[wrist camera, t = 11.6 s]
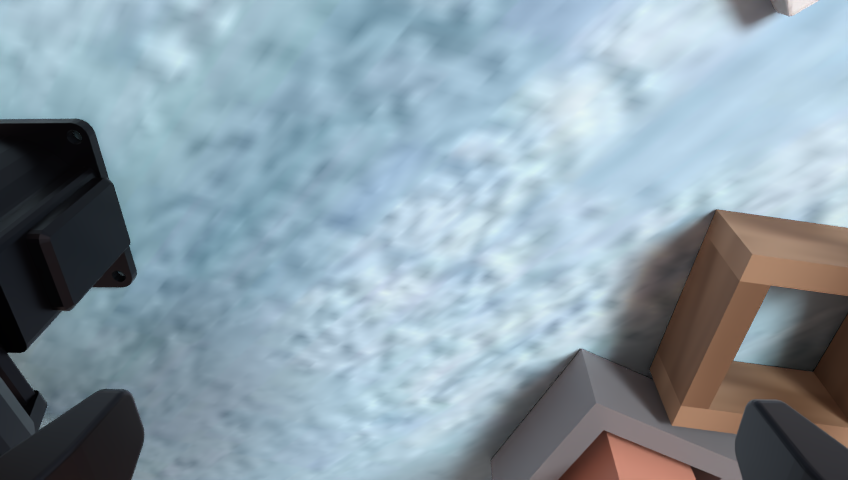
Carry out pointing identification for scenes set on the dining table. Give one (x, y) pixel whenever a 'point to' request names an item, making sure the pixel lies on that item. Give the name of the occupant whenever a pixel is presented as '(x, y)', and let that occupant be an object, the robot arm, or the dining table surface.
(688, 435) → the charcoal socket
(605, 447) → the peg
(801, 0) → the external hard drive
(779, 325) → the dining table surface
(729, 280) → the walnut socket
